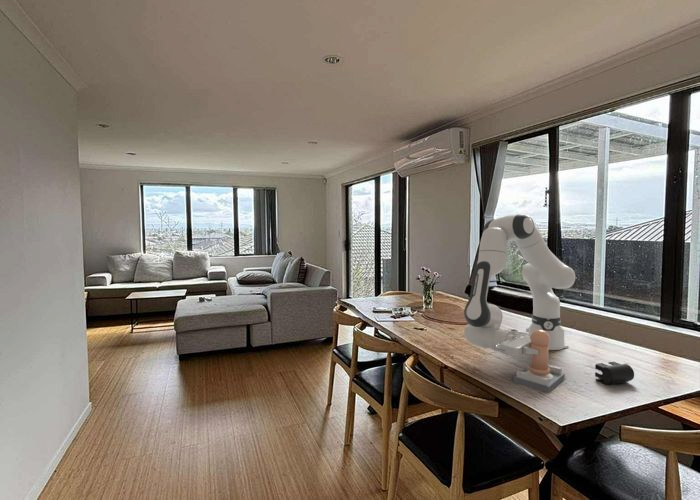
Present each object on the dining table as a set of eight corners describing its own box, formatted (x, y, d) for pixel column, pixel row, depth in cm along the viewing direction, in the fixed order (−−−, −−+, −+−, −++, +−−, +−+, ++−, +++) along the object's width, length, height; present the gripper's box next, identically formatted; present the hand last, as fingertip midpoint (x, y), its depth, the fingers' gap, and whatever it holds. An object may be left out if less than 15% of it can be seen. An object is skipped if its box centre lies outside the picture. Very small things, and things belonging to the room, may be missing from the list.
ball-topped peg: (527, 366, 139) (528, 326, 138) (548, 368, 137) (549, 327, 136) (529, 373, 133) (530, 331, 132) (551, 376, 131) (553, 333, 130)
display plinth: (530, 369, 145) (530, 359, 145) (564, 378, 136) (564, 368, 136) (513, 382, 134) (513, 371, 134) (548, 392, 125) (549, 381, 125)
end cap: (611, 388, 128) (612, 369, 128) (593, 380, 135) (594, 362, 135) (634, 385, 131) (635, 366, 130) (615, 377, 137) (616, 359, 137)
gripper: (492, 339, 137) (531, 348, 127) (515, 328, 151) (552, 335, 140) (492, 355, 137) (530, 366, 127) (515, 343, 151) (552, 351, 141)
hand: (542, 349), depth 134 cm, fingers closed on ball-topped peg, 5 cm apart
